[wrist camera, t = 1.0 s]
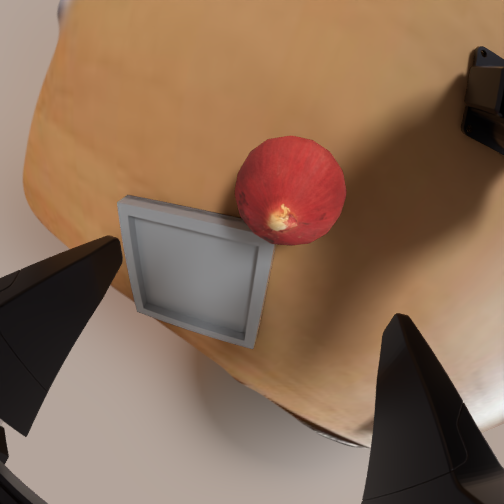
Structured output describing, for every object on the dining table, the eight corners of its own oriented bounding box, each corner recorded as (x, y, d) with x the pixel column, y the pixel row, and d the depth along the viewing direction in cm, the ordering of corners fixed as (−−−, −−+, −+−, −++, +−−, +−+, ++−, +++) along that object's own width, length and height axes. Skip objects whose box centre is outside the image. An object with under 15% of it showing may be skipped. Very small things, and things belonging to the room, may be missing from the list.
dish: (279, 227, 21) (275, 237, 19) (256, 337, 28) (253, 349, 27) (127, 194, 22) (117, 202, 21) (143, 302, 30) (137, 311, 29)
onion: (310, 225, 20) (295, 304, 13) (239, 181, 19) (190, 241, 13) (360, 160, 16) (378, 216, 10) (282, 109, 16) (247, 130, 10)
